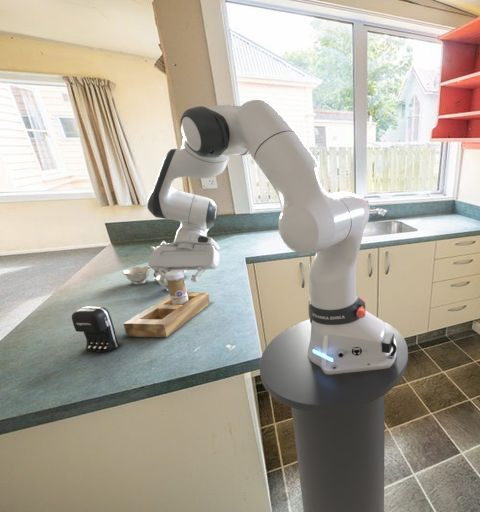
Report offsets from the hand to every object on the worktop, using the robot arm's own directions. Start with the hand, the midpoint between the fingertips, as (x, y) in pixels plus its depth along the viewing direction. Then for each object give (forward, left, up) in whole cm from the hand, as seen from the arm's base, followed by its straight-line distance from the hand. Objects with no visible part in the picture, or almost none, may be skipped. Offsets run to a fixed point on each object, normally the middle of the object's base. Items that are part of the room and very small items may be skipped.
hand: (178, 281), depth 93 cm
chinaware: (+23, -21, -10) cm, 32 cm away
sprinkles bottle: (0, +2, -10) cm, 10 cm away
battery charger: (+7, +22, -10) cm, 25 cm away
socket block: (0, +6, -10) cm, 11 cm away
